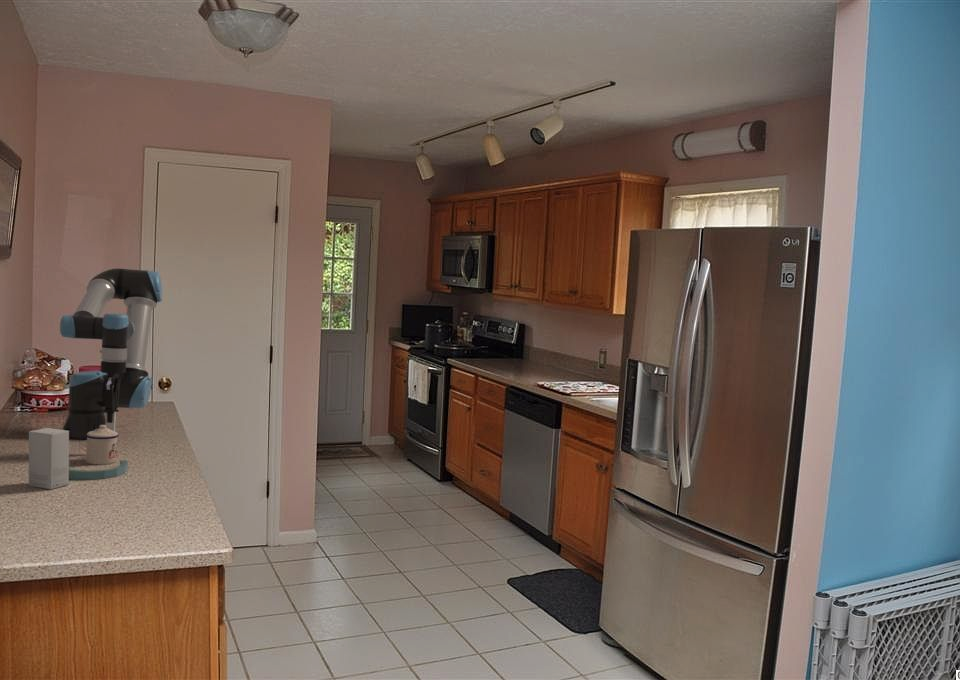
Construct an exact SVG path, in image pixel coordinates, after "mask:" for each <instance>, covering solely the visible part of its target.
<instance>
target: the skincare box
mask: <svg viewBox="0 0 960 680" xmlns="http://www.w3.org/2000/svg"><path fill="white" fill-rule="evenodd" d="M69 449H70V438H69V431H67V430H62V429H58V428H57V429H56V428H50V427H45V428H40V429H35V430H34V429H33V430H30V431H28V486H29V487H34V488H40V489H45V490H55V489H59V488H62V487H66V486H69V480H70V479H69V468H70V467H69V459H70V458H69V455H70V454H69V453H70V450H69Z"/></svg>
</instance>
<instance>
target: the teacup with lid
mask: <svg viewBox="0 0 960 680" xmlns="http://www.w3.org/2000/svg"><path fill="white" fill-rule="evenodd" d="M86 436H87V439H86V454H85V457H86V458H85V462H86V463H87V464H89V465H97V466H98V465H99V466H100V465H110V464H113V463H116V462H117V452H118V451H117V450H118V437H119V432H117V431H116V430H115V431H112V430H110V429H108V428H106V425H100V426H99V428H98V429H95V430H94V431H91V432H88V433H87V435H86Z"/></svg>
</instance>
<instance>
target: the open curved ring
mask: <svg viewBox="0 0 960 680" xmlns="http://www.w3.org/2000/svg"><path fill="white" fill-rule="evenodd" d="M70 466H71V458H69V468H70ZM128 467H129V462H128V461H127V460H126V459H121V460H119V465H118V466H117V465H116V466H115V467H109V468H105V469H93V470H90V469H88V470H85V469H84V470H83V469H73V468H72V469H71V468H70V469H69V480H78V481H79V480H80V481H81V480H82V481H84V480H85V481H91V480H92V481H94V480H105V479H110V478H117V477H120V476H122V475H125V474H126V473H127V472H128V471H129V470H128V469H129V468H128Z"/></svg>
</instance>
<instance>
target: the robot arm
mask: <svg viewBox="0 0 960 680" xmlns="http://www.w3.org/2000/svg"><path fill="white" fill-rule="evenodd" d="M159 273H160V272H157V271H153V270H148V269H147V270H146V269H145V270H142V269H132V268H131V269H129V268H120V267H118V268H117V267H116V268H110V269H107V270H104V271H102V272H99V273H98V274H97V275H94V277H92V278H91V280H90V281H89V282H88V283H87V286H86V293H85V295H84V296H83V297H82V300H81V302H80V303H79V305H78V306H77V308H76V310H75V312H74V313H73V315H72V314H68V315H67V314H65V315H63V316H62V317H61V318H60V322H59V332H60V335H61V337H63V338H68V339H84V340H85V339H86V340H101V349H100V350H99V353H101V354H100V355H101V357H100V359H102V360H101V361H100V370H99V369H98V370H96V369H95V370H86V371H85V370H84V371H79V372H75V373H73V374H72V375H70V377H69V386H68V412H67V417H66V419H65V422H64V424H63V427H62V429H61V430H67V431H69V439H74V440H87V436H86V435H87V433H88V432H91V431H94V430H95V429H98V428H99V426H100V425H106V428H108V429H110V430H112V431H115V432H116V415H117V413H118V412H119V409H118V408H122V409H124V408H125V409H143V408H144V407H145V406H146V405H147V404H148V402H149V400H150V397H151V392H152V385H153V378H152V377H151V376H149V372H148V370H147V369H146V366H145V365H146V360H147V359H146V358H147V352H148V344H149V335H150V334H149V333H150V326H151V318H152V310H154V309H155V308H156V307H157V305H158V303H160V302H162V300H163V290H162V287H163V286H162V279H161V275H160V274H159ZM112 300H123V304H124V305H125V306H126V314H125V313H116V312H115V313H113V312H110V313H104V315H103V317H101V314H103V310H104V309H105V308H106V305H107V303H108V302H110V301H112Z"/></svg>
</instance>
